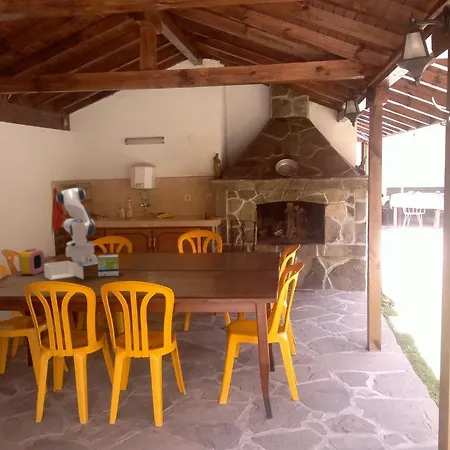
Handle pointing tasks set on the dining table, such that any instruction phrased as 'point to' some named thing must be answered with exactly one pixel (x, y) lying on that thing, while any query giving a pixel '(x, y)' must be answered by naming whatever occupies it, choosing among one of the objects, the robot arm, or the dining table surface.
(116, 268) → the tea box
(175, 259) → the dining table surface
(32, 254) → the alarm clock
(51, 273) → the carton
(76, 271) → the lid flap
